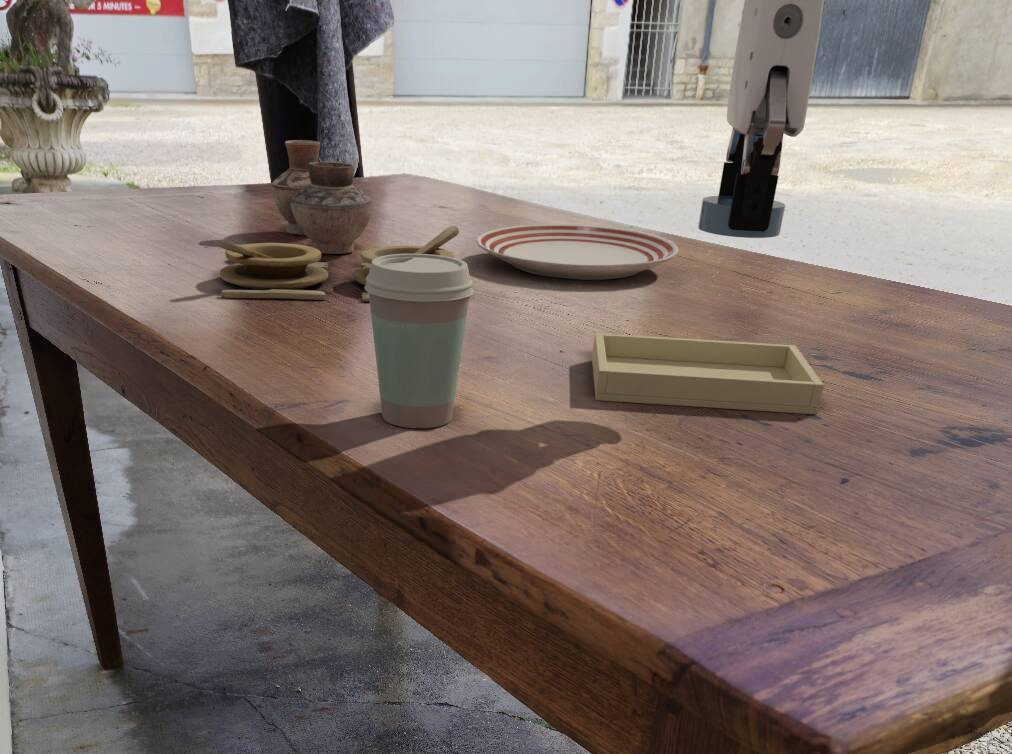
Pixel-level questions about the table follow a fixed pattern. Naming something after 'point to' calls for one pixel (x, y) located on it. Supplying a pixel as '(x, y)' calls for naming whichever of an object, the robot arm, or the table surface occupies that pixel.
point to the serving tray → (704, 374)
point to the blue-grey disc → (717, 218)
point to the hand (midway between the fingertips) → (740, 220)
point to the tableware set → (301, 267)
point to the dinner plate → (577, 250)
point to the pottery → (321, 199)
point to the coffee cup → (418, 334)
